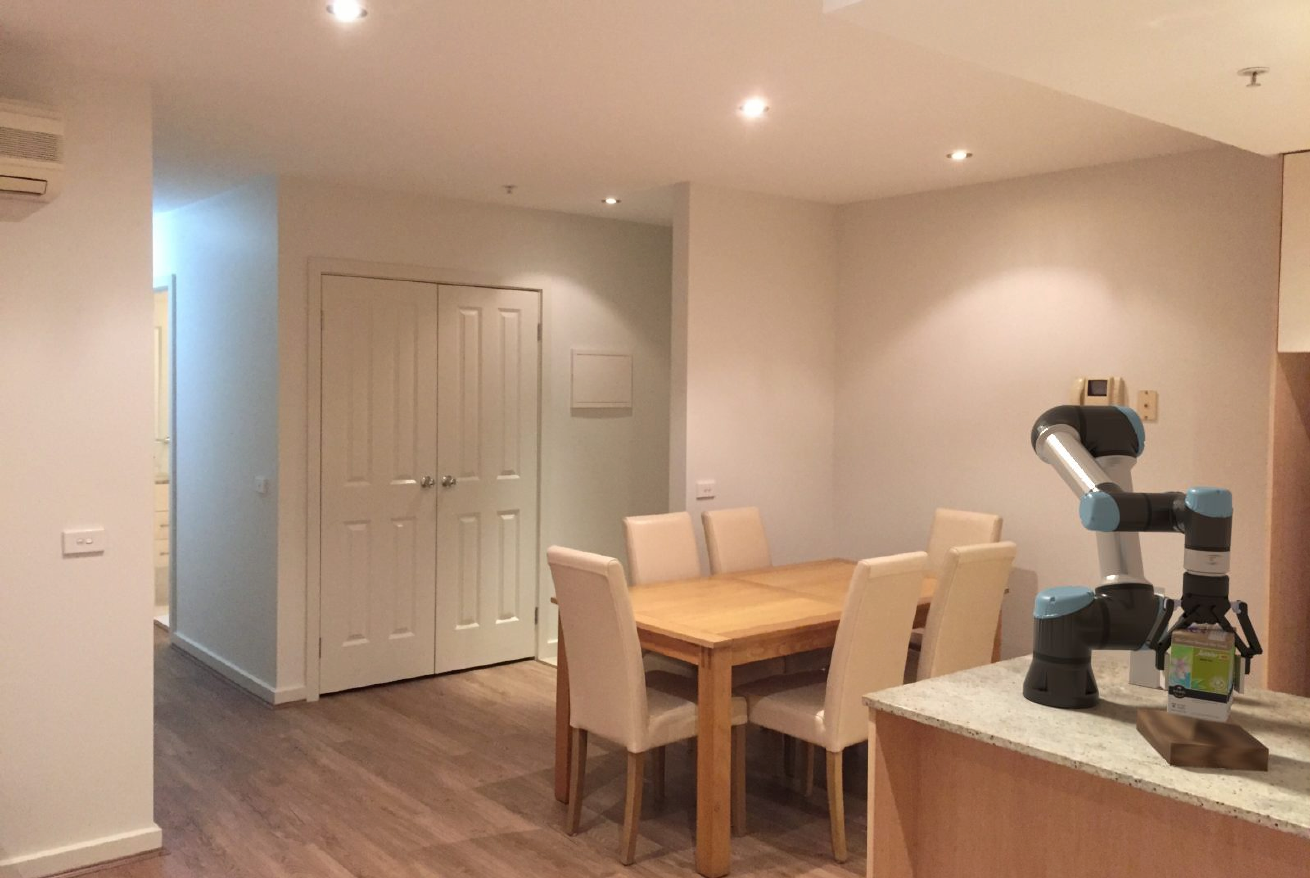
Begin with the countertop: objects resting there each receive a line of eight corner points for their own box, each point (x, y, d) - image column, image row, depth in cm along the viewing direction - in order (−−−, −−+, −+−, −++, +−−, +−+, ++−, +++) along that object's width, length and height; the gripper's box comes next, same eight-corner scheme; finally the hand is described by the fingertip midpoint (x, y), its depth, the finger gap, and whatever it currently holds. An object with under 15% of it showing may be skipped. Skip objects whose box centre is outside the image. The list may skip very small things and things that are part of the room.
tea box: (1228, 724, 189) (1232, 640, 188) (1165, 714, 194) (1168, 632, 194) (1234, 703, 202) (1237, 624, 201) (1174, 694, 207) (1177, 618, 206)
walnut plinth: (1170, 765, 190) (1171, 743, 190) (1136, 729, 210) (1137, 709, 209) (1267, 771, 188) (1268, 748, 187) (1224, 734, 207) (1225, 714, 207)
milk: (1156, 689, 238) (1160, 589, 237) (1127, 683, 242) (1131, 585, 241) (1165, 683, 243) (1169, 586, 241) (1137, 678, 247) (1141, 582, 245)
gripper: (1141, 573, 195) (1137, 691, 196) (1287, 578, 191) (1281, 699, 192) (1129, 566, 202) (1125, 680, 203) (1269, 571, 199) (1264, 687, 200)
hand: (1201, 689), depth 198 cm, fingers closed on tea box, 12 cm apart
